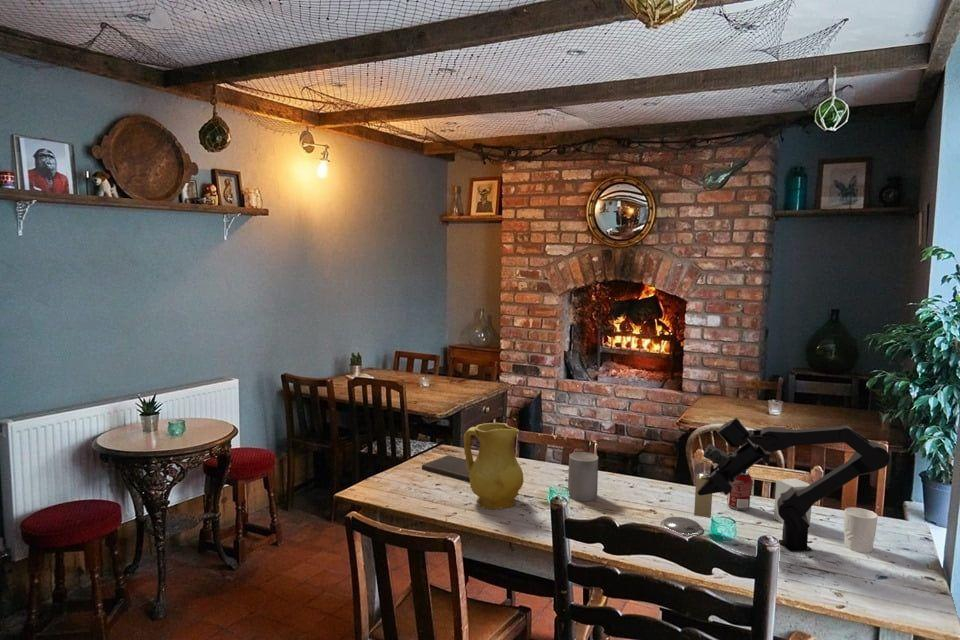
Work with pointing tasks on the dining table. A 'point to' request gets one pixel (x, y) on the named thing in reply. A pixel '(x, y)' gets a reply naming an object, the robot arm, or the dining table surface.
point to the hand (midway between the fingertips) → (698, 491)
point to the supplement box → (784, 486)
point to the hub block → (702, 497)
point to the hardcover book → (449, 467)
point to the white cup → (859, 529)
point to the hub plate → (682, 525)
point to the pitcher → (494, 465)
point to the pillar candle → (583, 476)
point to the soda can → (740, 492)
